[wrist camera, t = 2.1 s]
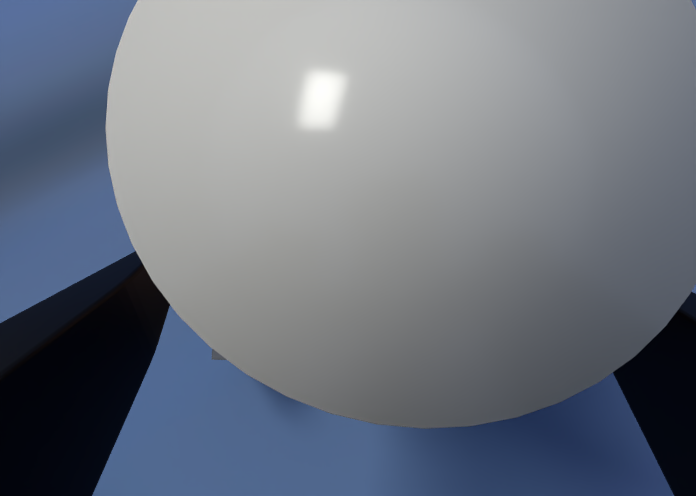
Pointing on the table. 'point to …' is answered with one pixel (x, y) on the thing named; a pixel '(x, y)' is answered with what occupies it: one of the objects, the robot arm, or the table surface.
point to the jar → (412, 192)
